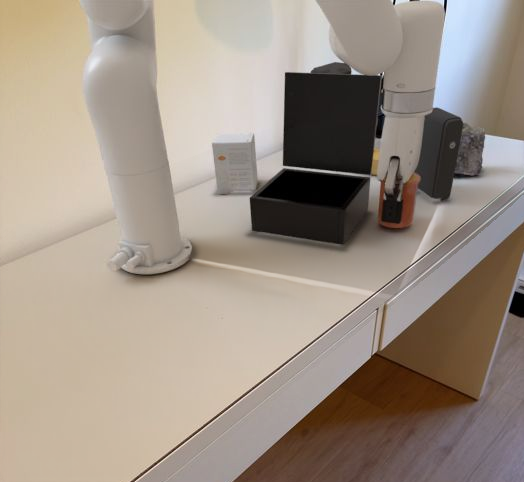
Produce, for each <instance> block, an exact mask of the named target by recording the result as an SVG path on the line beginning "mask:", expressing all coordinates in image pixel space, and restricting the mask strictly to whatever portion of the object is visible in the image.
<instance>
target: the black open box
mask: <svg viewBox="0 0 524 482" xmlns="http://www.w3.org/2000/svg"><path fill="white" fill-rule="evenodd" d="M370 187H371V177H370V176H363V175H362V176H361V175H353V174H352V175H351V174H342V173H333V172H332V173H331V172H326V171H325V172H323V171H316V170H315V171H313V170H307V169H306V170H305V169H296V168H287V167H283V168H282V169H280V170H279V171H278V172H277V173H276V174H275V175H274V176H273V177H271V178H270V179H269V180H268V181H267V182H265V183H264V184H263V185H262V186H261V187H260V188H259V189H258V190H256V192H254V193H253V194H252V195H251V196H250V197H249V208H250V211H249V212H250V223H251V231H252V232H258V233H265V234H271V235H278V236H284V237H291V238H296V239H303V240H310V241H316V242H323V243H329V244H335V245H342V246H343V245H344V244H345V243H346V242H347V240H348V239H349V237H350V236H351V235H352V233H353V232H354V230H355V229H356V228H357V226H358V224H359V223H360V222H361V220H362V219H363V218H364V216H365V215H366V213H368V210H369V203H370V202H369V201H370V192H371V191H370V190H371V189H370Z"/></svg>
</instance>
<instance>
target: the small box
mask: <svg viewBox="0 0 524 482" xmlns="http://www.w3.org/2000/svg"><path fill="white" fill-rule="evenodd" d="M211 148H212V158H213V164H214V174H215V181H216V189H217V194H218V195H231V194H232V193H233V192H234V191H255V190H256V188H257V186H258V183H259V182H258V180H259V179H258V167H257V166H258V165H257V152H256V138H255V133H254V132H249V133H225V134H223V133H221V134H216V135H215V137H214V139H213V141H212V143H211Z"/></svg>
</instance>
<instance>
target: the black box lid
mask: <svg viewBox="0 0 524 482" xmlns="http://www.w3.org/2000/svg"><path fill="white" fill-rule="evenodd" d="M382 79H383V75H381V74H378V75H372V76H369V75H363V74H353V73H351V74H328V73H311V72H299V71H298V72H297V71H296V72H295V71H285V72H284V91H283V92H284V97H283V101H284V102H283V135H282V136H283V137H282V139H283V140H282V167H288V168H289V167H290V168H299V169H306V170H318V171H328V172H329V171H330V172H336V173H337V172H338V173H345V174H347V173H348V174H355V175H356V174H357V175H367V176H371V175H372V174H371V172H372V163H373V154H374V148H375V145H376V144H375V143H376V135H377V127H376V126H378V123H377V117H379V107H380V98H381V88H382Z"/></svg>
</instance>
